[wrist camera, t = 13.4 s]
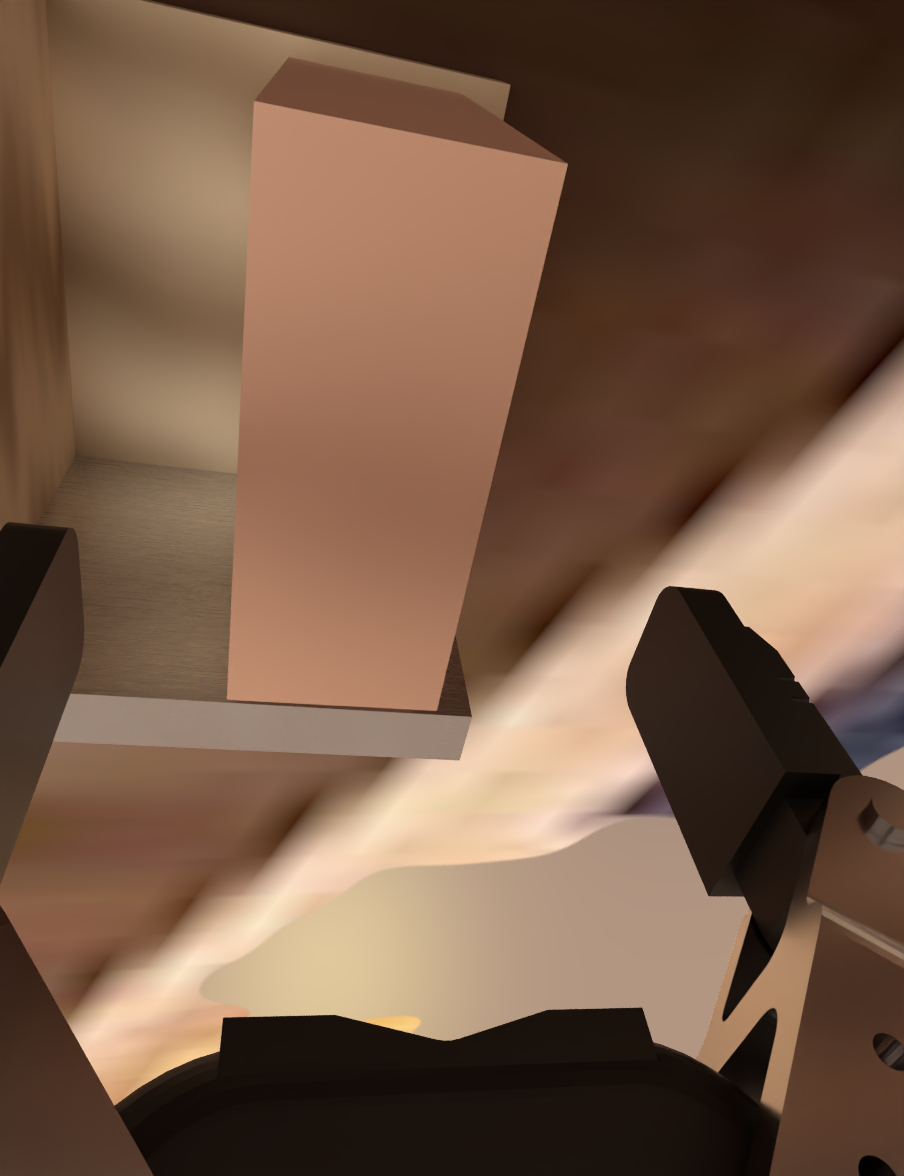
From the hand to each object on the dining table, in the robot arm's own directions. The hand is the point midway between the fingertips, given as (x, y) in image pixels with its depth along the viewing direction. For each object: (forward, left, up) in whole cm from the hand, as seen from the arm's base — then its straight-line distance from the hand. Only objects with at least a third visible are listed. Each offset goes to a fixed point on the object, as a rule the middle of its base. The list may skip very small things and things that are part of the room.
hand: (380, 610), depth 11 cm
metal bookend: (+7, -2, -16) cm, 18 cm away
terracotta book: (0, 0, -16) cm, 16 cm away
